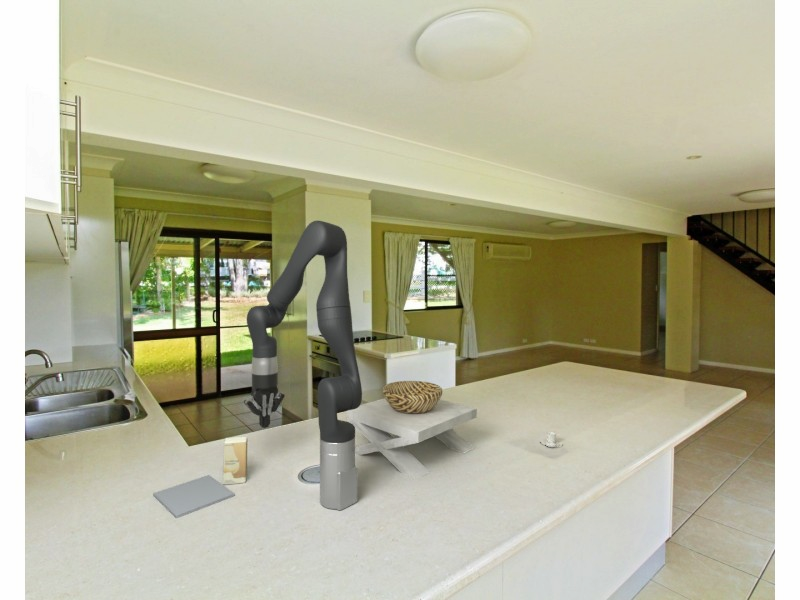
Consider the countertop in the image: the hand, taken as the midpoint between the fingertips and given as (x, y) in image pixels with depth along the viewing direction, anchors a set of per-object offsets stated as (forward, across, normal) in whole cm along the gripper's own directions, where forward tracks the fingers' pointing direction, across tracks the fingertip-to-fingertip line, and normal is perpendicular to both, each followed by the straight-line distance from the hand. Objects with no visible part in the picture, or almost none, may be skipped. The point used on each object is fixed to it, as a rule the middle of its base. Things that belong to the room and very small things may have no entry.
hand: (264, 426), depth 131 cm
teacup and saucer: (+14, +81, -52) cm, 97 cm away
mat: (+13, -21, 0) cm, 25 cm away
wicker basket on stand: (+14, +44, -22) cm, 51 cm away
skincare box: (+14, -10, 0) cm, 17 cm away
